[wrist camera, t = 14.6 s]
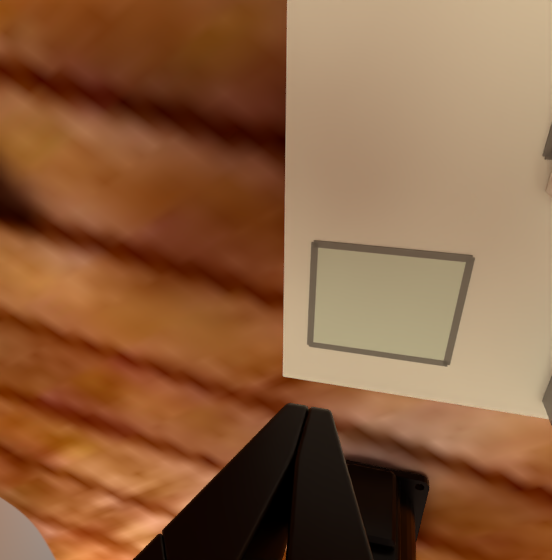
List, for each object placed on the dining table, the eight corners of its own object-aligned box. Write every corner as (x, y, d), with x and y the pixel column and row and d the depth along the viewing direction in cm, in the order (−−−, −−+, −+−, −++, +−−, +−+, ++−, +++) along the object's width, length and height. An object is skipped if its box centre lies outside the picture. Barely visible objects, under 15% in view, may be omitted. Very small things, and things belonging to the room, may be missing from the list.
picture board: (678, 431, 20) (687, 442, 19) (285, 369, 24) (282, 377, 23) (1045, -184, 10) (1084, -197, 10) (292, -127, 14) (287, -134, 14)
